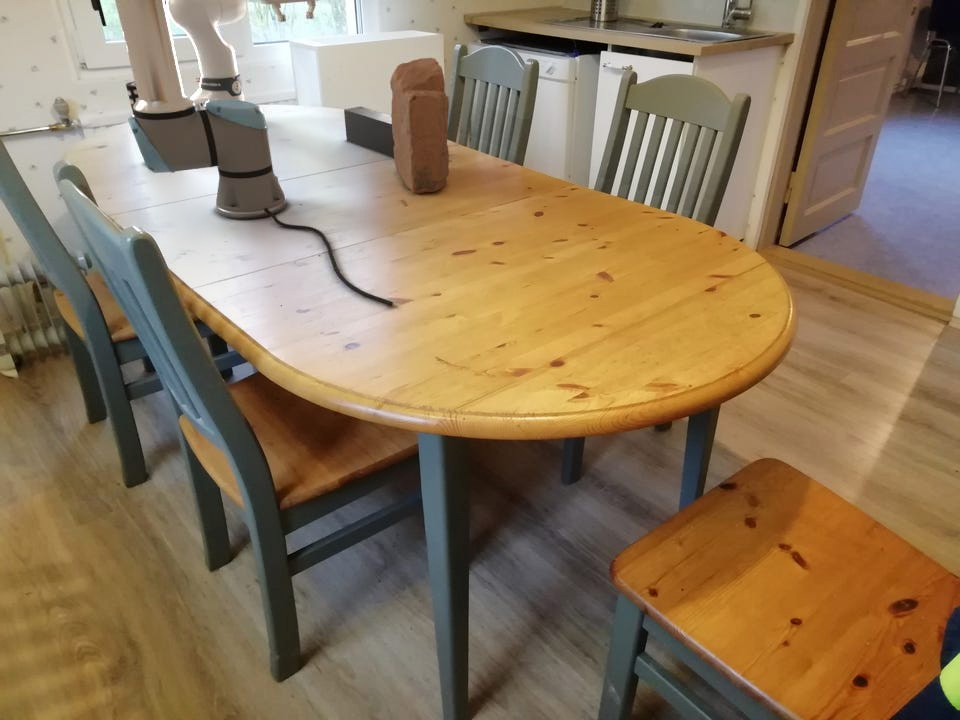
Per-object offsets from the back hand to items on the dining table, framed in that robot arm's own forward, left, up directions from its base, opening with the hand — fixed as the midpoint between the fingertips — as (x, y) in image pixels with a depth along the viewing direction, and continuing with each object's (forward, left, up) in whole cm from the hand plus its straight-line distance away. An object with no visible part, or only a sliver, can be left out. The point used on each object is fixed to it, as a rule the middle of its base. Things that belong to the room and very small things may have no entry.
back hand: (296, 20), depth 195 cm
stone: (+53, -23, -32) cm, 66 cm away
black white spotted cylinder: (-17, -42, -21) cm, 50 cm away
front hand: (-19, -39, +2) cm, 44 cm away
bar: (+28, -4, -32) cm, 43 cm away
